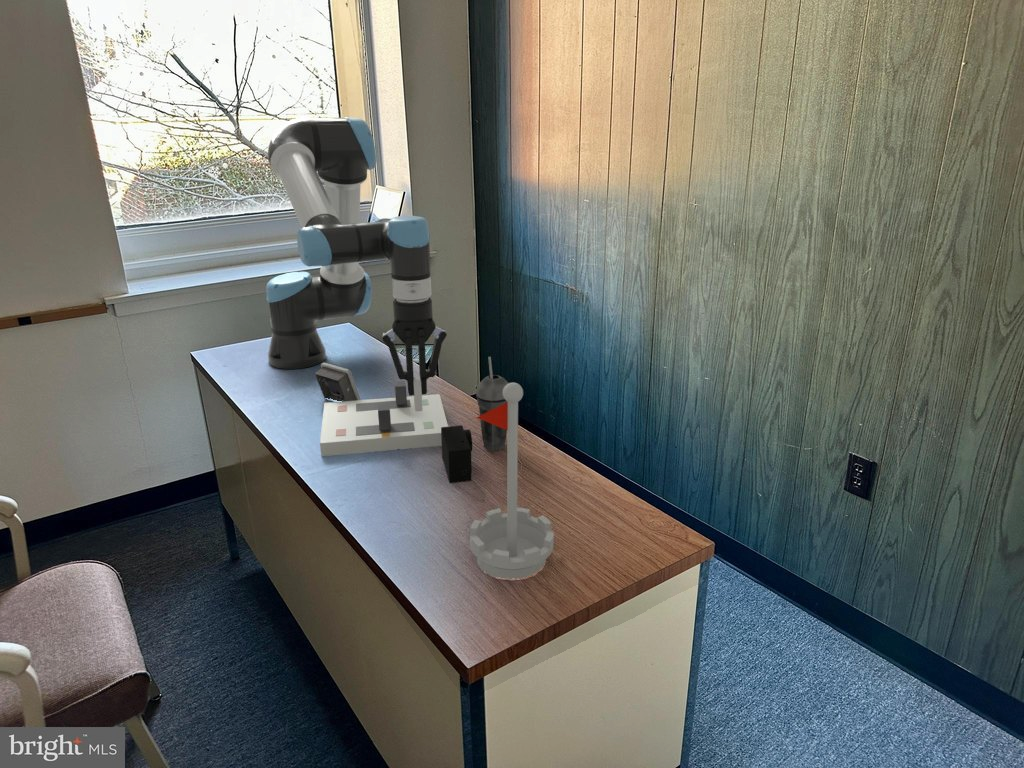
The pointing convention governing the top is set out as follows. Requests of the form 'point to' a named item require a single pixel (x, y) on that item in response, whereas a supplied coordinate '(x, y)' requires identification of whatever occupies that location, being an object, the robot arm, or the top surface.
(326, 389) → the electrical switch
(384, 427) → the block
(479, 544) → the flag stand
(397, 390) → the block
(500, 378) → the beverage cup
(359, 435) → the breaker panel
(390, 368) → the top surface
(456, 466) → the digital camera
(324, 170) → the robot arm
